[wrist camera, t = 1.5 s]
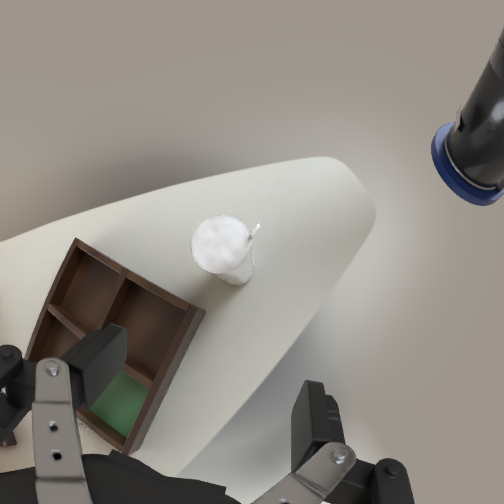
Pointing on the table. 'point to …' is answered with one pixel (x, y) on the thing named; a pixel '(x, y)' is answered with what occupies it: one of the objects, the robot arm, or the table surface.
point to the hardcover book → (9, 440)
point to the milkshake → (224, 248)
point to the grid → (138, 338)
